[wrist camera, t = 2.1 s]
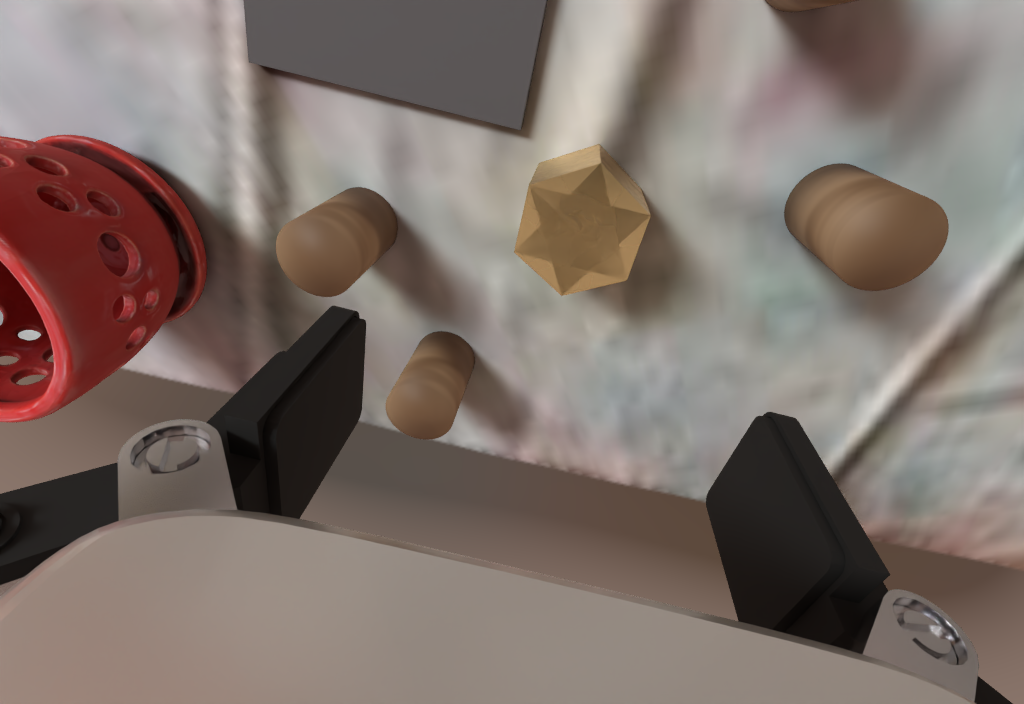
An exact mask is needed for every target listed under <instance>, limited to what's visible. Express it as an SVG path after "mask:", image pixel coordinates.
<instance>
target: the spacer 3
mask: <svg viewBox="0 0 1024 704" xmlns="http://www.w3.org/2000/svg"><path fill="white" fill-rule="evenodd" d="M784 217H785V223H786V226H787V228H788V230H789V231H790V232H791V233H792V234H793V235H794V236H795V237H796V238H797V239H798V240H799V241H800V242H801V243H802V244H803V245H804V246H806V247H807V248H808V249H809V250H810V251H811V252H812V253H813V254H814V255H815V256H817V257H818V258H819V259H820V260H821V261H822V262H823V263H824V264H825V265H826V266H828V267H829V268H830V269H831V270H832V271H833V272H834V273H835V274H836V275H837V276H838V277H840V278H841V279H842V280H843V281H844V282H845V283H847V284H848V285H850V286H852V287H854V288H857V289H861V290H868V291H878V290H886V289H890V288H894V287H897V286H900V285H902V284H904V283H906V282H909V281H910V280H912V279H914V278H915V277H917V276H918V275H920V274H921V273H923V272H924V271H925V270H926V269H927V268H928V267H929V266H930V265H931V264H932V263H933V262H934V261H935V260H936V259H937V257H938V256H939V254H940V253H941V251H942V249H943V247H944V245H945V243H946V240H947V236H948V219H947V216H946V214H945V212H944V210H943V209H942V208H941V207H940V205H939V204H937V203H936V202H935V201H933V200H931V199H929V198H927V197H925V196H923V195H920V194H918V193H916V192H913V191H911V190H909V189H906V188H904V187H902V186H900V185H897V184H895V183H893V182H890V181H888V180H886V179H884V178H881V177H879V176H877V175H874V174H872V173H870V172H867V171H865V170H863V169H861V168H858V167H856V166H853V165H850V164H832V165H827V166H824V167H821V168H819V169H817V170H815V171H813V172H811V173H810V174H808V175H807V176H805V177H804V178H803V179H802V180H801V181H800V182H799V183H798V184H797V185H796V186H795V188H794V189H793V190H792V192H791V193H790V195H789V197H788V200H787V202H786V205H785V211H784Z"/></svg>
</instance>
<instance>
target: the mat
mask: <svg viewBox="0 0 1024 704" xmlns="http://www.w3.org/2000/svg"><path fill="white" fill-rule="evenodd" d="M547 1H548V0H244V9H245V22H246V34H247V46H248V59H249V62H250V63H254V64H258V65H262V66H266V67H270V68H274V69H278V70H282V71H286V72H290V73H294V74H298V75H302V76H306V77H310V78H314V79H318V80H322V81H326V82H330V83H334V84H338V85H342V86H346V87H350V88H354V89H358V90H362V91H366V92H370V93H374V94H378V95H382V96H386V97H390V98H394V99H398V100H402V101H406V102H410V103H414V104H418V105H422V106H426V107H430V108H434V109H438V110H442V111H446V112H450V113H454V114H458V115H462V116H466V117H470V118H474V119H478V120H482V121H486V122H490V123H494V124H498V125H502V126H506V127H509V128H513V129H517V130H521V129H522V125H523V120H524V115H525V110H526V105H527V100H528V95H529V90H530V85H531V80H532V75H533V70H534V65H535V60H536V55H537V50H538V46H539V41H540V36H541V31H542V26H543V21H544V16H545V11H546V6H547Z"/></svg>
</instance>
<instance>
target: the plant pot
mask: <svg viewBox="0 0 1024 704" xmlns="http://www.w3.org/2000/svg"><path fill="white" fill-rule="evenodd" d="M206 275H207V261H206V253H205V248H204V244H203V241H202V238H201V235H200V233H199V230H198V227H197V225H196V223H195V221H194V219H193V217H192V216H191V214H190V212H189V210H188V209H187V207H186V206H185V204H184V203H183V202H182V200H181V199H180V198H179V196H178V195H177V194H176V193H175V191H174V190H173V189H172V188H171V187H170V186H169V185H168V184H167V183H166V182H165V181H164V180H163V179H162V178H161V177H160V176H159V175H158V174H157V173H155V172H154V171H153V170H152V169H151V168H149V167H148V166H147V165H145V164H144V163H143V162H141V161H140V160H138V159H137V158H135V157H134V156H132V155H131V154H129V153H127V152H125V151H123V150H122V149H120V148H118V147H115V146H113V145H111V144H108V143H106V142H103V141H100V140H96V139H93V138H89V137H84V136H77V135H57V136H51V137H46V138H43V139H41V140H38V141H36V142H32V141H27V140H22V139H15V138H9V137H1V136H0V310H1V312H2V314H3V318H4V319H3V323H2V325H1V326H0V357H1V356H13V357H17V358H18V359H19V360H18V361H17V362H16V363H13V364H10V365H0V422H24V421H30V420H35V419H39V418H42V417H45V416H47V415H49V414H52V413H54V412H55V411H57V410H59V409H61V408H62V407H64V406H66V405H67V404H69V403H71V402H72V401H74V400H75V399H77V398H79V397H80V396H82V395H83V394H85V393H86V392H88V391H89V390H90V389H92V388H93V387H95V386H96V385H98V384H99V383H100V382H101V381H102V380H104V379H105V378H107V377H108V376H110V375H111V374H112V373H114V372H115V371H117V370H118V369H119V368H121V367H122V366H123V365H125V364H126V363H127V362H128V361H129V360H130V359H132V358H133V357H134V356H135V355H136V354H137V353H138V352H139V351H140V350H141V349H142V348H143V347H144V346H145V345H146V344H147V343H148V342H149V341H150V340H151V338H152V337H153V336H154V335H155V334H156V332H157V331H158V330H159V328H160V327H161V325H162V324H163V323H166V322H169V321H172V320H175V319H177V318H179V317H181V316H182V315H184V314H185V313H186V312H188V311H189V310H190V309H191V308H192V307H193V306H194V305H195V303H196V302H197V301H198V299H199V298H200V296H201V294H202V291H203V288H204V285H205V281H206ZM23 330H34V331H37V332H39V333H40V334H41V336H40V337H39V338H38V339H36V340H31V341H27V340H24V339H20V338H19V337H18V333H19V332H21V331H23ZM52 355H53V356H54V363H52V362H48V361H47V360H48V358H49V357H50V356H52ZM30 375H46V377H45V378H44V379H42V380H40V381H39V382H36V383H33V384H29V385H19V384H16V382H18V380H20V379H22V378H24V377H27V376H30Z"/></svg>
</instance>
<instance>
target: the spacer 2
mask: <svg viewBox="0 0 1024 704" xmlns="http://www.w3.org/2000/svg"><path fill="white" fill-rule="evenodd" d="M474 364H475V357H474V353H473V351H472V349H471V347H470V345H469V344H468V343H467V342H466V341H465V340H464V339H462V338H461V337H459V336H458V335H455V334H453V333H450V332H442V331H441V332H434V333H431V334H428V335H427V336H425V337H424V338H423V339H422V340H421V341H420V343H419V345H418V347H417V348H416V350H415V352H414V353H413V355H412V357H411V358H410V360H409V362H408V364H407V365H406V367H405V369H404V370H403V372H402V374H401V375H400V377H399V379H398V381H397V382H396V384H395V386H394V387H393V389H392V391H391V392H390V394H389V396H388V398H387V400H386V412H387V415H388V417H389V419H390V421H391V422H392V423H393V425H394V426H395V427H396V428H397V429H399V430H400V431H401V432H403V433H405V434H407V435H409V436H411V437H414V438H419V439H435V438H438V437H441V436H443V435H444V434H446V433H447V432H448V431H449V430H450V428H451V426H452V424H453V422H454V419H455V416H456V413H457V411H458V408H459V405H460V403H461V400H462V397H463V395H464V392H465V389H466V387H467V384H468V381H469V378H470V376H471V373H472V370H473V368H474Z"/></svg>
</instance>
